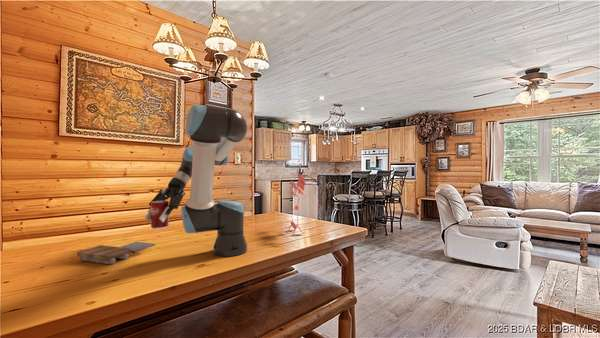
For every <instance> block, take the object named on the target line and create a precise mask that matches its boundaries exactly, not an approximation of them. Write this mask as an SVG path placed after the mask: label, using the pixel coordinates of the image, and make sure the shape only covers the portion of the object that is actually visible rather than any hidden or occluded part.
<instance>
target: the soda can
mask: <svg viewBox="0 0 600 338" xmlns="http://www.w3.org/2000/svg"><path fill="white" fill-rule="evenodd" d="M169 203H170V201H168V200H165V201H153V202H152V203H151V207H150V208H151V219H150V228H152V229H154V230H159V229H160V230H161V229H166V228H168V227H169V225H170V224H169V216H170V214H169V215H168V216H167V218H166V219H165V221H164V222H162V221H161V220H160V219H159V218H160V216H161V215H162V213H163V212H164V210H165V209H166V207H168V208H169Z"/></svg>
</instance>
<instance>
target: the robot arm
mask: <svg viewBox="0 0 600 338" xmlns="http://www.w3.org/2000/svg"><path fill="white" fill-rule="evenodd" d="M247 133H248V124H247V120H246V119H245V118H244V116H243V114H242V113H240V112H239V111H238V110H236V109H233V108H226V107H218V106H210V105H206V104H205V105H200V104H194V105H193V106H191V107H190V109H189V110H188V113H187V116H186V122H185V134H186V135H187V136H189V140H190V141H191V142H192V144H193V145H190V146H187V147H186V148H185V149H184V150H183V152H182V153H183V154H182V158H181V163H180V166H179V168H178V170H177V171H176V172H175V174H173V176H172V178H171V179H170V181H169V182H168V185H167V188H165V189H162V188H161V189H159V191H158V193H157V194H156V195H155V196H154V197H153V199H152V200H151V201H149V203H148V206H149V207H150V208H149V209H148V211H147V213H146V215H145V216H144V219H145V220H146V221H147V222H151V203H152V202H153V201H167V200H169V199H170V200H169V208H168V207H166V209H165V210H164V212H163V213H162V215H161V216H160V218H159V219H160V220H161V221H162V222H164V221H165V219H166V218H167V216H168V215H169V216H170V214H171V213H172V211H174V210H177V209H179V206H180V204H181V202H182V200H183V198H184V197H185V195H186V192H185V190H184V189H185V188H186V186H187V185H188V183H189V182H190V194H189V195H190V196H189V199H187V200H186V201H185V205H183V206H181V209H180V215H181V220H182V225H183V229H184V232H185V233H187V234H197V233H205V232H207V233H208V232H214V231H217V236H216V240H215V241H214V245H213V247H212V248H213V250H212V251H213V252H212V253H213V254H214V255H215V256H219V257H235V256H240V255H243V254H245V253H247V251H248V243H247V241H246V238H245V235H244V225H245V224H244V220H245V219H244V218H245V217H244V216H245V215H244V214H245V212H244V205H243V203H242V202H239V201H237V200H236V201H234V200H227V199H225V200H223V199H219V200H217V203H215V201H214V199H213V198H212V197H213V187H214V175H215V166H219V167H221V166H227V165H228V162H229V154H230V153H231V151H232V150H233V149H234V147H235V146H236V144H238V143H239V142H241V141H242V140H244V139H245V137H246V134H247Z"/></svg>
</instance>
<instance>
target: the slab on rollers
mask: <svg viewBox="0 0 600 338" xmlns="http://www.w3.org/2000/svg"><path fill="white" fill-rule="evenodd" d="M76 253H77V257H78V258H79V261H83V262H90V263H98V264H106V265H114V264H115V263H116V260H117V259H118V260H119V259H120V260H128V259H129V256H130V255H129V253H131V252H130V248H121V246H112V245H102V244H101V245H98V246H95V247H91V248H88V249H84V250H80V251H77V252H76Z"/></svg>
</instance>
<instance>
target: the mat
mask: <svg viewBox="0 0 600 338" xmlns="http://www.w3.org/2000/svg"><path fill="white" fill-rule="evenodd" d="M156 245H157V244H156V243H155V242H154V243H153V242H152V243H151V242H143V241H133V242H131V243H128V244H125V245H122V246H120V247H121V248H130V252H129V253H137V251H138V252H140V251H143V250H145V248H146V249H148V247H149V248H151V247H154V246H156ZM142 249H143V250H142Z"/></svg>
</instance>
